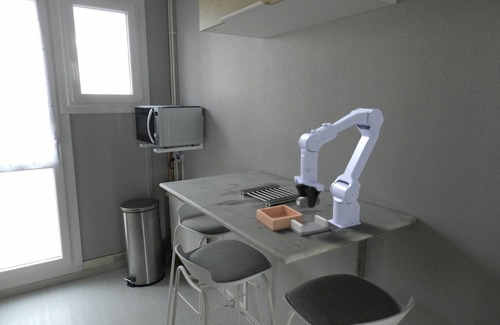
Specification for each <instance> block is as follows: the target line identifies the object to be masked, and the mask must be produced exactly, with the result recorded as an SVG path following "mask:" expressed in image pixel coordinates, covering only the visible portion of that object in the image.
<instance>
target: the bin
mask: <svg viewBox="0 0 500 325" xmlns="http://www.w3.org/2000/svg"><path fill="white" fill-rule="evenodd" d="M256 220H257V221H258V222H259V223H261V224H262V225H263V226H265V227H266V228H268V229H269V230H271V231H272V232H274V231H280V230H286V229H290V226H291V220H295V221H297V222H299V223H300V224H304V221H303V220H304V214H303V213H300V212H299V211H297V210H295V209H293V208H291V207H289V206H287V205H286V204H281V205H277V206H270V207H264V208H258V209H256Z"/></svg>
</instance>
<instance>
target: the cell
mask: <svg viewBox="0 0 500 325" xmlns="http://www.w3.org/2000/svg"><path fill="white" fill-rule="evenodd" d="M320 204H321V199H320V197H319V196H318V198H317V201H316V204H315V207H317V206H320ZM295 205H296V207H297V209H299V210H302V209H308V208H309V206H308V196H305V197H300V196H299V197H297V198H296V200H295ZM309 209H310V208H309Z"/></svg>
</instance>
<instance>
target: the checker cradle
mask: <svg viewBox="0 0 500 325" xmlns="http://www.w3.org/2000/svg"><path fill="white" fill-rule="evenodd" d="M328 220H329V219H326V218H324V217H321V216H320V215H318V214H317V215H315V214H314V221H311V222H310V221H309V222H305V223H304V222H303V224H300V223H299V222H297V221H295V220H291V226H290V228H289V230H291V231H292V232H294V233H295V234H297V235H299V236H300V237H303V236H308V235H312V234H317V233H321V232H325V231H329V230H330V228H329V226H328V225H329V224H328V223H329V222H328Z"/></svg>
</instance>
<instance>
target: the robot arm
mask: <svg viewBox="0 0 500 325" xmlns="http://www.w3.org/2000/svg"><path fill="white" fill-rule="evenodd" d="M384 121H385V119H384V115H383V113H382V110H380V109H379V108H361V107H357V108H355V110H354V109H353V110H352V111H351V112H350V113H348V114H347V115H345V116H343V117H342V118H340V119H339V120H337V121H336V122H334V123H330V122H325V123H322V124H321V126H320V127H318V128H316V129H311V131H310V133H309V132H308V133H307V132H306V133H303V134H302V135H301V136H300V138H299V140H297V145H298V147H299V148H300V175H295V176H294V182H295V183H297V184H295V188H296V190H297V192H298V196H299V197H305V196H308V206H309V209H312V208H315V207H316V206H315V204H316V201H317V198H318V197H319V195H320V194H321V193H322V191H324V190H325V185H324V183H321V182H320V181H319V180H318V158H319V151H320V150H321V148H322V146H323V145H324V144H327V143H328V142H330V141H332V140H334V139H335V138H337V135H338V133H339V132H341V131H343V130H346V129H348V128H350V127H352V126H354V125H355V127H356V128H357V129H358V131H359V132H360V134H361V138H360V139H359V140H358V143H357V145H356V147H355V149H354V151H353V152H352V153H353V154H352V156H351V158H350V160H349V162H348V164H347V166H346V168H345V170H344V173H342V174H340V175H339V176H337V177H336V179H335V181H333V183H332V184H331V185H330V187H329V188H330V189H329V192H330V195H331V196H332V199H333V209H332V218H331V219H327V220H328V223H331V224H332V225H334V226H336V227H338V228H340V229H346V228H349V227H354V226H358V225H361V224H362V223H361V222H360V214H361V206H360V203H359V201H358V200H357V199H358V198H359V195H360V194H359V193H360V189H361V186H362V185H361V184H360V182H359V178H360V177H361V174H362V172H363V170H364V168H365V165H366V164H367V162H368V159H369V157H370V156H371V154H372V153H373V152H372V151H373V149H374V147H375V146H376V143H377V141H378V139H379V136H380V131H381V130H380V129H381V127H382V125H383V123H384Z"/></svg>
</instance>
